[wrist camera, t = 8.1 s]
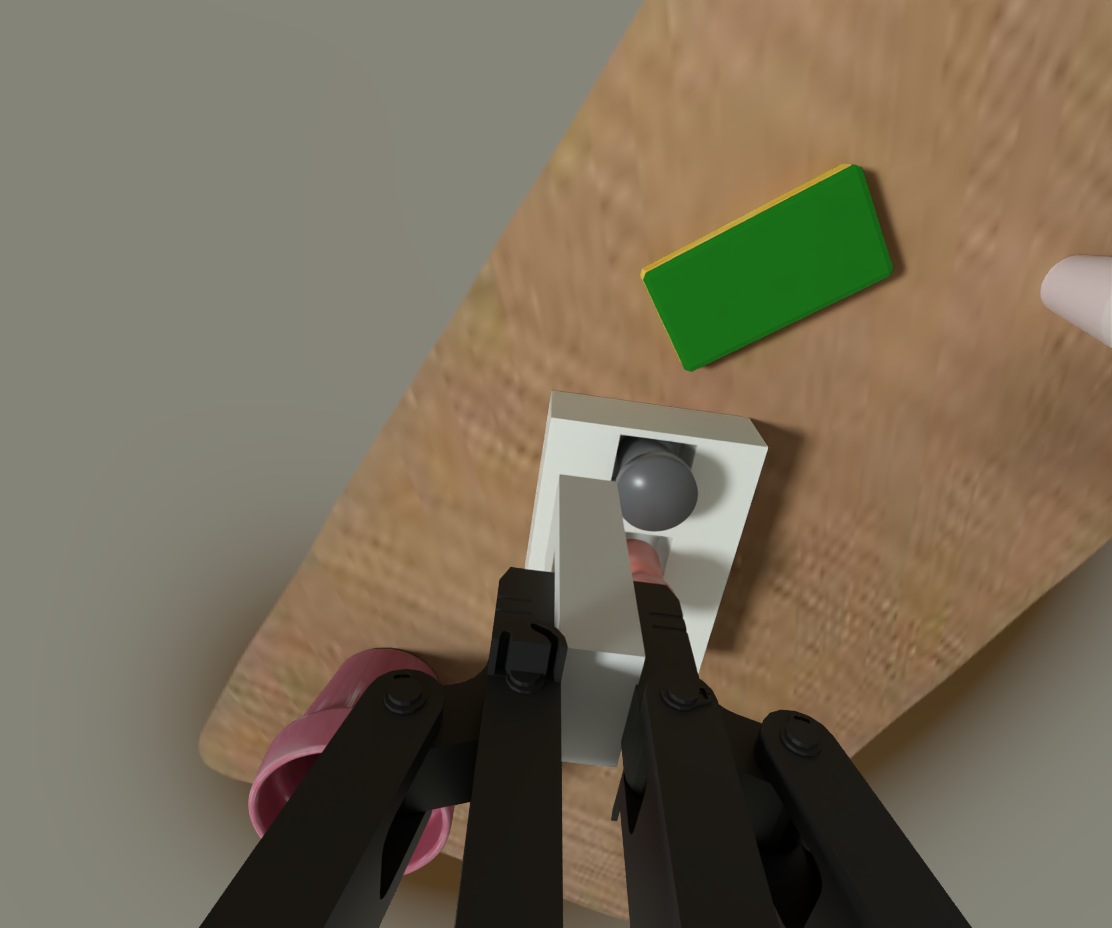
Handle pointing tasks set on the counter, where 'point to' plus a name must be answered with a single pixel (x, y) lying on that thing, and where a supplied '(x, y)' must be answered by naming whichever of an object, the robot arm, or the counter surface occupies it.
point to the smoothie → (1082, 294)
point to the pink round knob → (644, 562)
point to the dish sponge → (770, 267)
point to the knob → (654, 484)
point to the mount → (715, 461)
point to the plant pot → (313, 733)
